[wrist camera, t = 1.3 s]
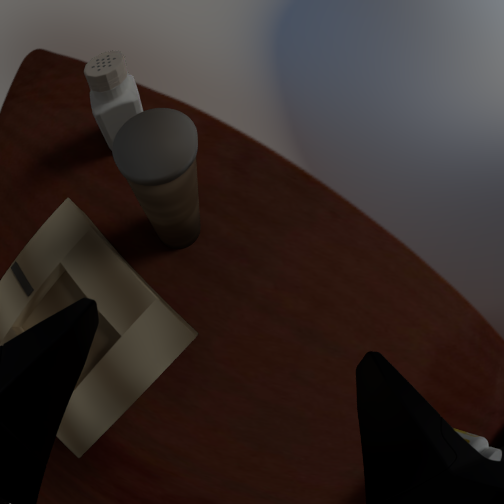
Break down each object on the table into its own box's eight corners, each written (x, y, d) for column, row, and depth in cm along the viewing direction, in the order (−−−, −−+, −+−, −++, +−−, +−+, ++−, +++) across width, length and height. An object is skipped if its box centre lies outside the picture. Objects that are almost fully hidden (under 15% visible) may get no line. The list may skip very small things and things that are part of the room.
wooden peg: (178, 259, 22) (147, 196, 10) (146, 228, 22) (97, 145, 11) (211, 226, 23) (215, 138, 11) (179, 197, 23) (160, 96, 12)
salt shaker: (141, 112, 25) (125, 41, 16) (151, 140, 24) (133, 67, 15) (105, 127, 24) (78, 60, 15) (112, 156, 23) (79, 88, 14)
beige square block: (96, 440, 17) (78, 459, 13) (1, 322, 18) (-26, 320, 14) (198, 333, 21) (196, 337, 17) (86, 215, 22) (67, 196, 18)
